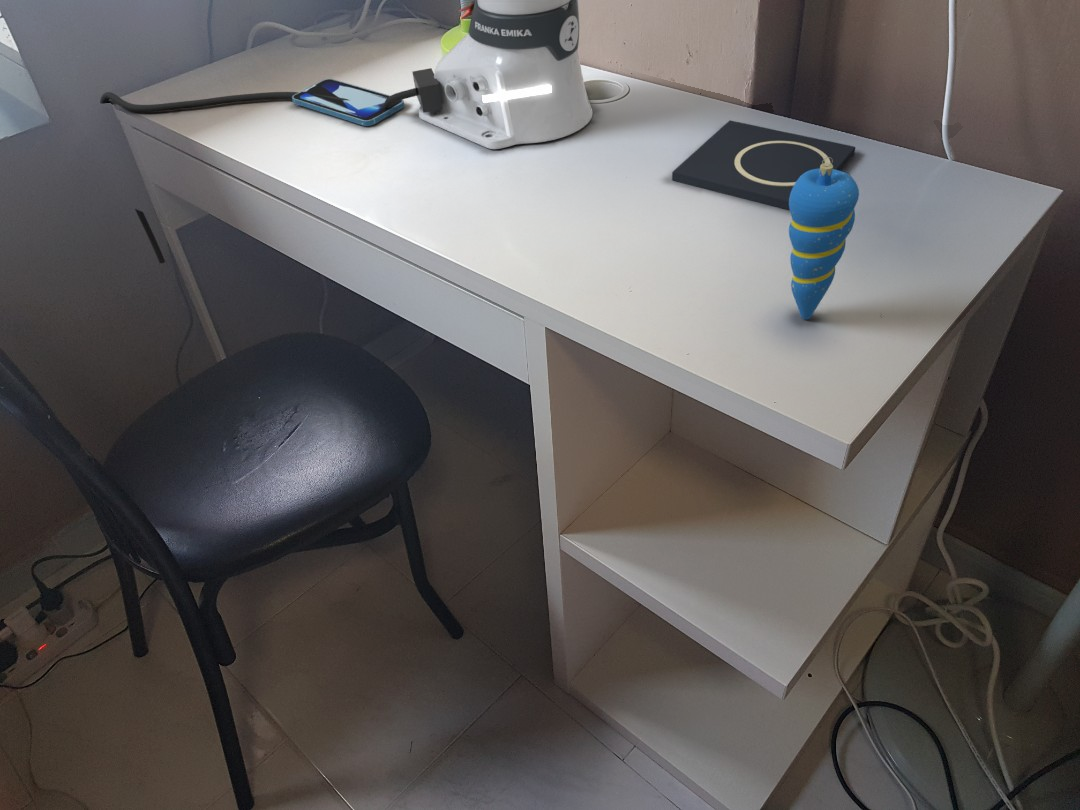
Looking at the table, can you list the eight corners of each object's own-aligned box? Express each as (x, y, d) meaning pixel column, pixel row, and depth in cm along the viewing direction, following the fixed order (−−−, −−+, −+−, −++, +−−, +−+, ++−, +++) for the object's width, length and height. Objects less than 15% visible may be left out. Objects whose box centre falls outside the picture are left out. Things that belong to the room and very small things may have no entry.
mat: (671, 180, 91) (672, 170, 91) (729, 128, 99) (729, 118, 98) (804, 214, 84) (805, 203, 84) (854, 155, 92) (856, 145, 92)
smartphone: (367, 122, 106) (288, 97, 113) (369, 129, 107) (290, 104, 113) (407, 100, 110) (328, 77, 117) (408, 107, 111) (329, 84, 117)
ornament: (841, 335, 70) (876, 171, 60) (779, 339, 71) (804, 176, 60) (826, 298, 74) (856, 139, 64) (767, 302, 74) (788, 143, 64)
